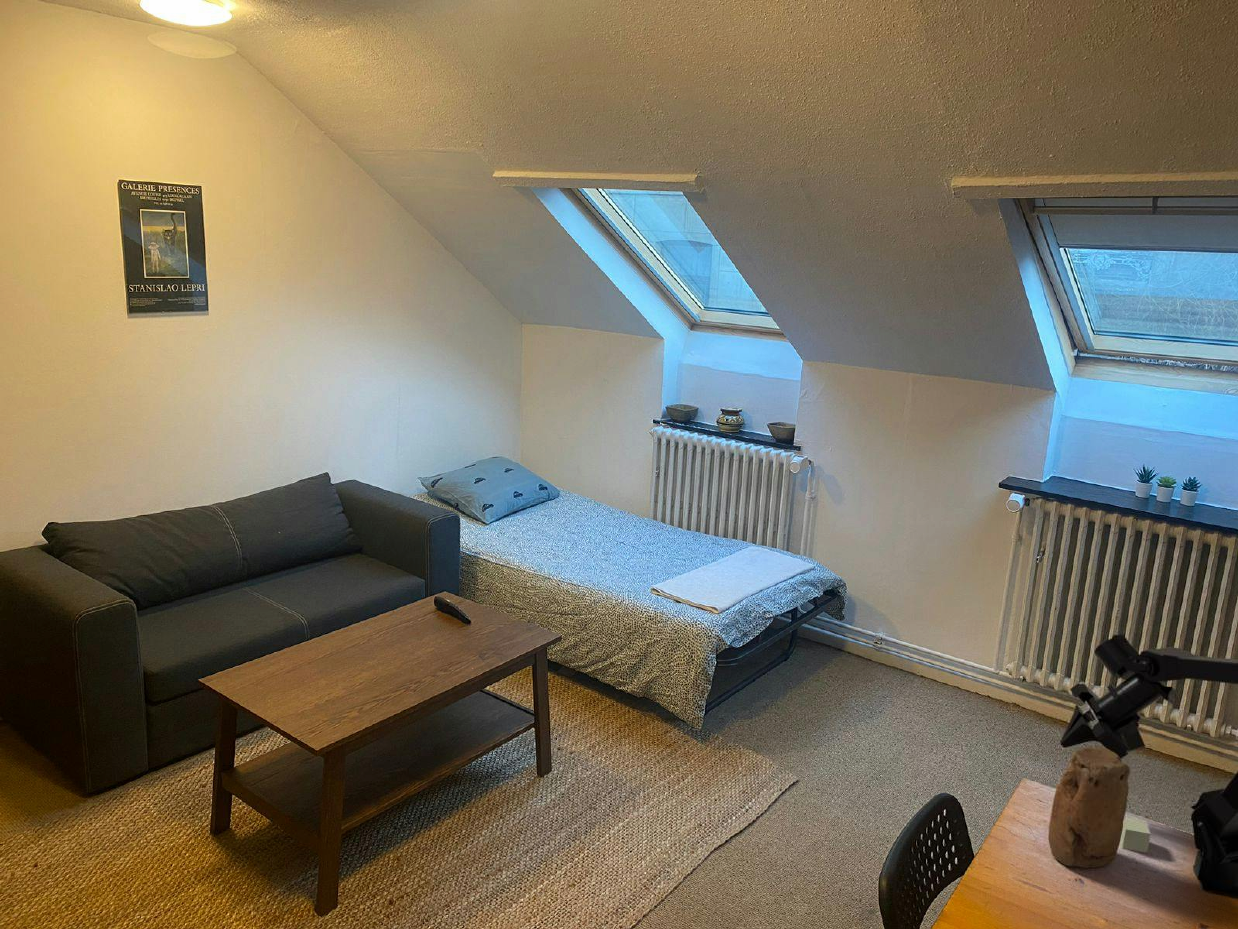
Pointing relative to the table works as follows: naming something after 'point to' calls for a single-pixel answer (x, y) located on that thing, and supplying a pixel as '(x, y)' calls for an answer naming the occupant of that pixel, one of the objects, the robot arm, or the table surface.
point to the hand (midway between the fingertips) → (1062, 745)
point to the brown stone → (1089, 809)
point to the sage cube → (1135, 835)
